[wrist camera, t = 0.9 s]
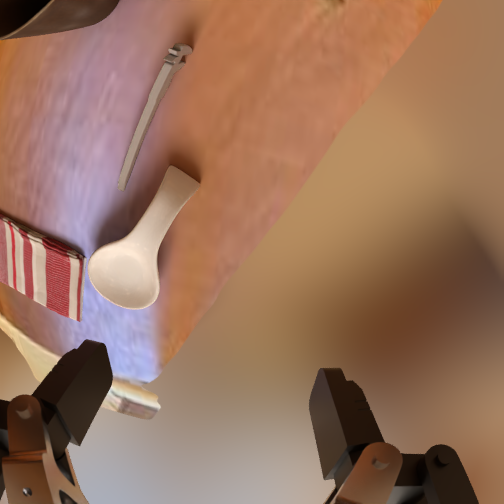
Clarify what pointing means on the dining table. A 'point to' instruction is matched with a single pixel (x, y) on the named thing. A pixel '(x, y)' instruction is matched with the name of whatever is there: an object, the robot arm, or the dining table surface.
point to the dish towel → (42, 268)
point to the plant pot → (50, 16)
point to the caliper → (153, 106)
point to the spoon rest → (140, 248)
